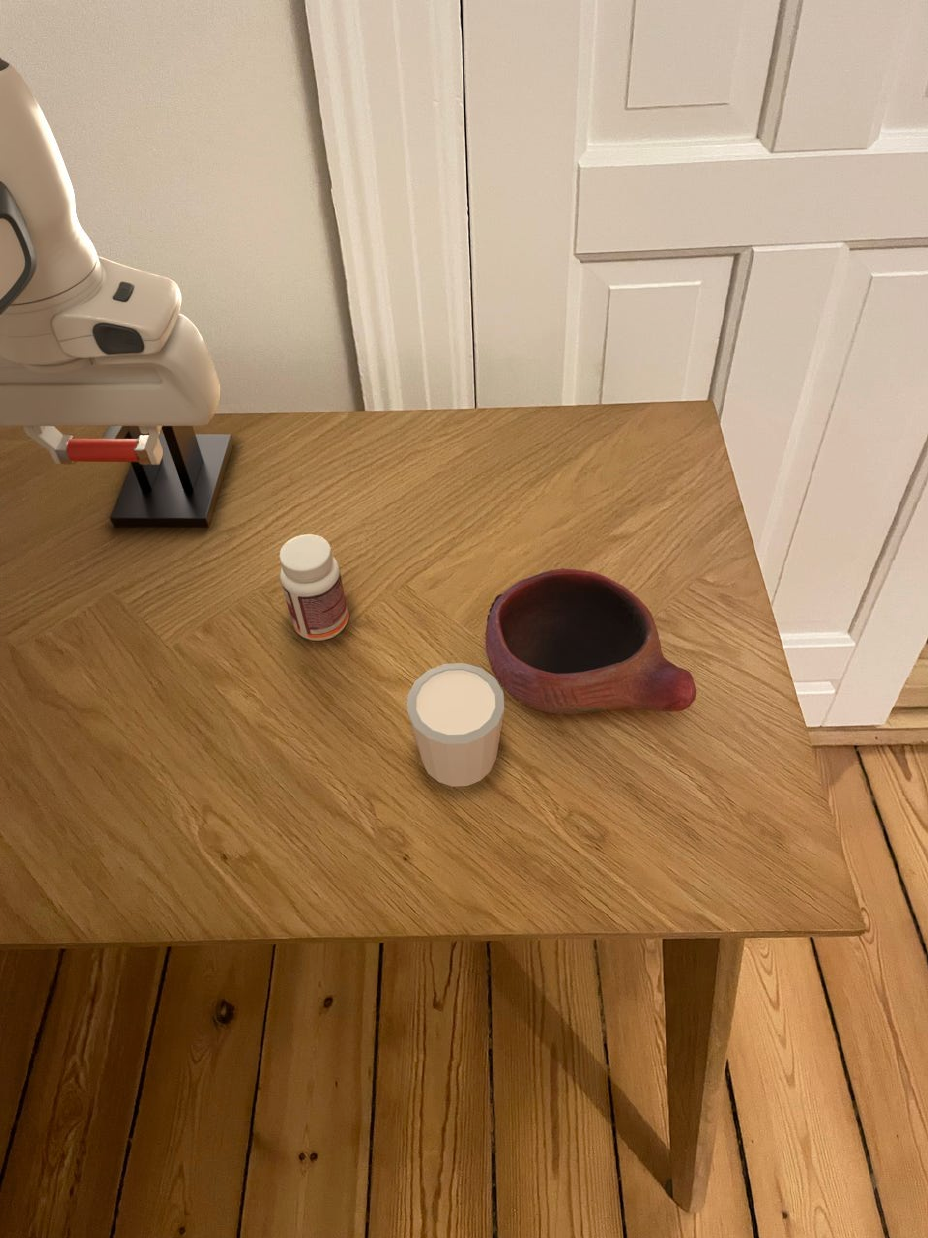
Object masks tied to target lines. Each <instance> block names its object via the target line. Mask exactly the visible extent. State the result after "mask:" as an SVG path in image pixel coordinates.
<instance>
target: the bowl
mask: <svg viewBox="0 0 928 1238" xmlns="http://www.w3.org/2000/svg"><path fill="white" fill-rule="evenodd" d="M486 619H487V620H486V628H485V653H486V656H487V660H488V663H489V665H490V667H491V671H492V672H493V674H494V676H495V679H496V680H497V682H498V684H499V685H500V687H501V688H503V689H504V690H505V692H507V693H508V694H509V695H510V696H511V697H512V698H513V699H515V700H516V701H518V702H520V703H521V704H523V705H525V706H527V707H528V708H532V709H534V710H536V711H540V712H543V713H550V714H554V715H555V714H560V715H561V714H564V715H565V714H567V715H569V714H585V713H592V712H593V713H594V712H601V711H610V710H611V711H612V710H619V709H621V710H622V709H628V710H641V711H642V710H643V711H650V712H666V713H669V712H670V713H671V712H680V711H684V710H686V709H688V708H690V707H691V706H692V705H693V704H694V702H695V701H696V698H697V686H696V683H695V678H694V677H693V675H692V673H691V671H689V670H688V669H685V668H683V667H680V666H677V665H676V664H674V663H672V662H671V661H670V660H668V659H667V658H666V657H665V656H664V653H663V649H662V643H661V639H660V634H659V631H658V628H657V624H656V622H655V618H654V617H653V615H652V613H651V611H650V609H649V608H648V607H647V606H646V605H645V604H644V602H643V601H642V600H641V599H640V598H639V597H638V596H637V595H635V594H634V593H633V592H632V591H631V590H630V589H629V588H627V587H626V586H624V585H622V584H620V583H619V582H616V581H615V580H613V579H611V578H610V577H607V576H605V575H604V574H601V573H598V572H595V571H591V570H584V569H575V568H558V569H551V570H546V571H544V572H541V573H538V574H534V575H532V576H529V577H527V578H524V579H522V580H518V582H516V583H515V584H513V585H512V586H511V587H509V588H507V590H505V591H503V593H500V594H498V595H496V596H495V597H494V600H493V602H492V603H491V607H490V608H489V614H488V615H487V618H486Z"/></svg>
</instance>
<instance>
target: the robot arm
mask: <svg viewBox="0 0 928 1238" xmlns="http://www.w3.org/2000/svg"><path fill="white" fill-rule="evenodd" d="M59 149H60V148H59V147H58V144H57V141H56V139H55V137H54V135H53V132H52V129H51V127H50V125H49V122H48V120H47V119H46V117H45V114H44V112H43V110H42V109H41V106H40V105H39V103H38V101H37V98H36V97H35V95H34V93H33V92H32V90H31V88H30V86H29V85H28V84H27V82H26V81H25V79H24V78H23V76H22V75H21V73H20V72H18V70H17V69H16V68H15V67H14V66H13V65H12V64H11V63H9V62H8V61H6V60H4V59H2V58H1V57H0V427H21V428H22V430H23V432H24V433H25V435H26V436H27V437H29V438H30V439H31V440H33V441H34V442H35V443H37V444H38V445H39V446H41V447H42V448H44V449H45V450H47V451H48V453H49V454H50V457H51V458H52V460H53V462H54V464H55V465H64V466H65V465H66V466H67V465H68V466H69V465H70V466H71V465H76V463H77V462H73V461H71V460H70V459H69V457H68V453H67V444H68V441H69V440H70V439H75V436H74V435H71V434H70V435H69V434H67V435H66V434H63V433H62V432H61V431H60V430H58V428H57V427H109V426H139V429H140V431H141V433H142V434H148V433H149V435H142V436H140V437H139V439H138V444H137V445H136V447H135V449H134V451H135V453H136V456H137V457H138V458H139V460H138V461H139V463H140V464H144V465H159V464H160V461H161V459H162V456H163V449H162V446H161V444H160V441H159V438H158V437H159V434H161V432H162V426H193V427H205V426H207V425H208V424H209V422H210V421H211V420H212V418H213V417H214V415H215V414H216V412H217V409H218V407H219V402H220V397H221V385H220V381H219V378H218V374H217V371H216V369H215V365H214V363H213V360H212V357H211V355H210V352H209V349H208V347H207V345H206V343H205V340H204V339H203V336H202V335H201V332H200V331H199V330H198V328H197V326H196V325H195V324H194V323H193V322H192V321H191V320H190V319H189V318H188V317H186V316H185V315H183V314H181V313H180V310H181V305H182V294H181V290H180V287H179V285H178V284H177V282H176V281H174V280H173V279H172V278H168V277H166V276H162V275H158V274H156V273H155V274H154V273H152V272H148V271H144V270H140V269H138V268H137V269H136V268H133V267H130V266H128V265H124V264H121V263H118V262H115V261H112V260H109V259H107V258H105V257H102V256H99V255H98V254H97V251H96V248H95V246H94V245H93V242H92V241H91V240H90V238H89V236H88V235H87V234H86V232H85V231H84V230H83V228H82V226H81V224H80V222H79V219H78V216H77V212H76V198H75V191H74V188H73V184H72V181H71V178H70V176H69V173H68V171H67V167H66V165H65V162H64V160H63V159H64V158H63V157H62V155H61V152H60V150H59Z"/></svg>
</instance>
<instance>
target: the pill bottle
mask: <svg viewBox="0 0 928 1238" xmlns="http://www.w3.org/2000/svg"><path fill="white" fill-rule="evenodd" d="M279 562H280V565H281V569H280V573H279V579H280V584H281V587H282V591H283V594H284V599H285V601H286V605H287V608H288V612H289V615H290V620H291V622H292V626H293V629H294V630H295V633H297V634H298V635H299V636H301V637H302V638H303V639H306V640H308V641H313V642H314V641H315V642H321V641H327V640H329V639H332V638H334V637H336V636H337V635H339V634H340V633H341V632H342V631H344V629H345V628H346V626H347V624H348V622H349V610H348V605H347V599H346V595H345V589H344V584H343V580H342V574H341V570H340V566H339V563H338V561H337V560H336V558H335V557H334V555H333V552H332V548H331V545H330V543H329V542H328V540H327V539H325V538H324V537H322V536H321V535H317V534H312V533H307V534H300V535H296V536H294V537H292V538H290V539H289V540H287V541H286V542H285V543H284V544H283V545H282V547H281V548H280V551H279Z"/></svg>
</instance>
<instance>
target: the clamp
mask: <svg viewBox="0 0 928 1238" xmlns="http://www.w3.org/2000/svg"><path fill="white" fill-rule="evenodd" d="M161 432H162V433H160V434H159V437H158V438H159V441H160V444H161V446H162V449H163V456H162V459H161V461H160V464H159V465H144V464H140V463H139V462H130V466H129V468H128V471H127V473H126V476H125V479H124V481H123V484H122V485H121V487H120V488H121V489H120V491H119V493H118V496H117V499H116V501H115V504H114V507H113V509H112V511H111V513H110V517H109V519H110V522H111V524H112V527H114V528H186V529H187V528H191V529H192V528H195V529H196V528H198V529H199V528H200V529H203V528H204V529H205V528H207V529H208V528H210V525H211V521H212V518H213V515H214V511H215V509H216V504H217V501H218V498H219V494H220V490H221V487H222V484H223V482H224V477H225V474H226V471H227V467H228V464H229V461H230V457H231V454H232V451H233V448H234V444H235V442H234V439H233V435H232V434H231V433H225V434H222V433H212V434H210V433H207V434H206V433H198V434H197V433H195V429H194V426H162V428H161ZM142 435H149V433H148V434H142V433H141V431H140V429H139V426H131V428H130V429H129V431H128V433H127V434H126V436H125V438H124V439H139V437H140V436H142Z"/></svg>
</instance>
